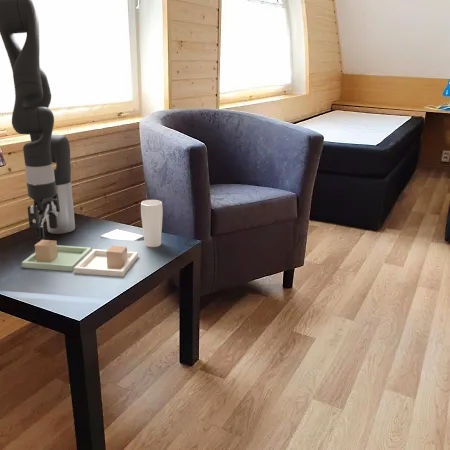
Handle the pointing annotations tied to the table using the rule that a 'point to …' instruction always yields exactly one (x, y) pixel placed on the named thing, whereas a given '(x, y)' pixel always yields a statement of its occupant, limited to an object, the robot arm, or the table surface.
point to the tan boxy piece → (46, 250)
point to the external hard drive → (122, 235)
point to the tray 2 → (103, 264)
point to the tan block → (116, 257)
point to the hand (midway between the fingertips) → (47, 233)
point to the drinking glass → (152, 222)
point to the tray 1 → (60, 259)
